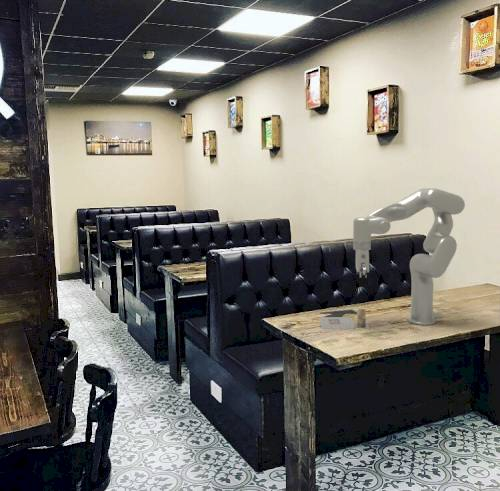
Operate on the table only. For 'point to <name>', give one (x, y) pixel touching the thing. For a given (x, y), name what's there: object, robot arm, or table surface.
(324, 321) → the block
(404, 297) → the table surface
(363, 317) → the peg
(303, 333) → the table surface
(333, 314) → the picture frame
